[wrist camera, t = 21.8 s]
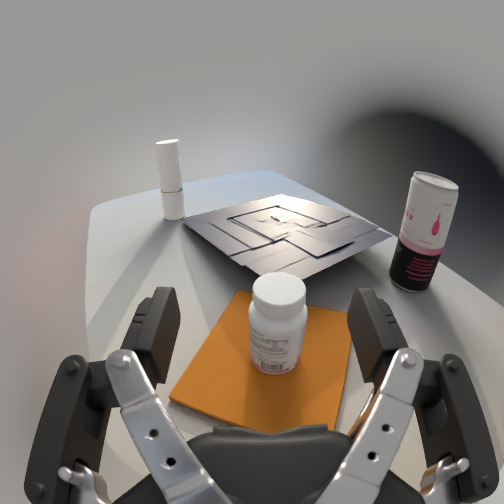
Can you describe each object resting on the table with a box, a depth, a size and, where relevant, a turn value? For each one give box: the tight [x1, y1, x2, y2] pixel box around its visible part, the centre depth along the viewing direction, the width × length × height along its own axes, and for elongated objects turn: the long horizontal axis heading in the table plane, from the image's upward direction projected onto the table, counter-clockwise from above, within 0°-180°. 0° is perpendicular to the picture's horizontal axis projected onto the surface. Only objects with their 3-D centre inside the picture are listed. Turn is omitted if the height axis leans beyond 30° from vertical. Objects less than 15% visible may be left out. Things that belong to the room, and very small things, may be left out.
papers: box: [181, 194, 393, 280], centre depth 45 cm, size 24×30×4 cm
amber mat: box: [168, 290, 351, 433], centre depth 25 cm, size 16×14×1 cm
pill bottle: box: [248, 272, 308, 375], centre depth 22 cm, size 5×5×8 cm
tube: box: [156, 140, 186, 220], centre depth 49 cm, size 4×4×15 cm
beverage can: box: [389, 172, 458, 292], centre depth 31 cm, size 6×7×15 cm
